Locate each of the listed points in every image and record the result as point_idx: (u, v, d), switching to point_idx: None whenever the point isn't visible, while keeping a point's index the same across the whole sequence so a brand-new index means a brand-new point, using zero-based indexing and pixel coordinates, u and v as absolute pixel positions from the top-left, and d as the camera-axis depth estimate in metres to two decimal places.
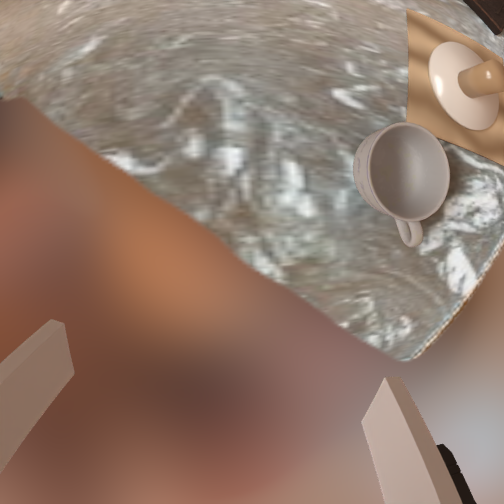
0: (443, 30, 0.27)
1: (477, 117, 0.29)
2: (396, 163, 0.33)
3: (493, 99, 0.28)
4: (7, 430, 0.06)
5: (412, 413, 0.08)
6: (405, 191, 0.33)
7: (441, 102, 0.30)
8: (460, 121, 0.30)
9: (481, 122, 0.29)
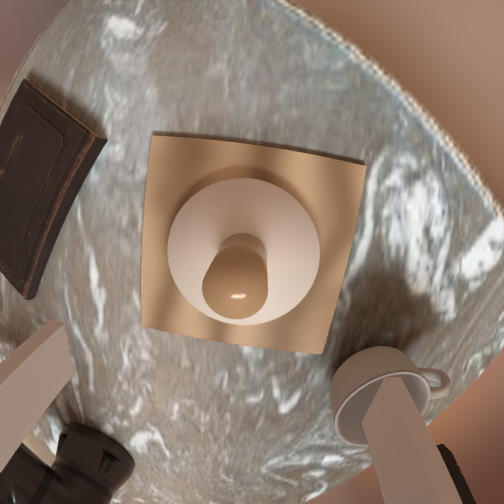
0: (153, 275, 0.29)
1: (297, 243, 0.26)
2: None
3: (253, 195, 0.25)
4: (7, 430, 0.06)
5: (412, 413, 0.08)
6: None
7: None
8: (310, 282, 0.27)
9: (305, 235, 0.26)
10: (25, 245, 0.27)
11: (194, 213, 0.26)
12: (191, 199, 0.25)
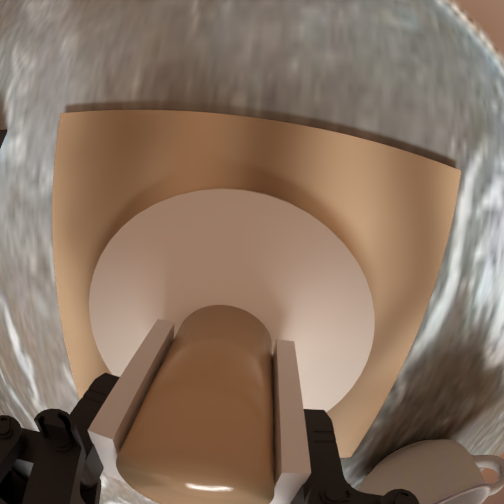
0: (83, 353, 0.15)
1: (333, 324, 0.13)
2: None
3: (245, 227, 0.11)
4: None
5: (289, 372, 0.10)
6: None
7: None
8: (349, 384, 0.13)
9: (350, 309, 0.12)
10: None
11: (126, 263, 0.12)
12: (118, 235, 0.12)
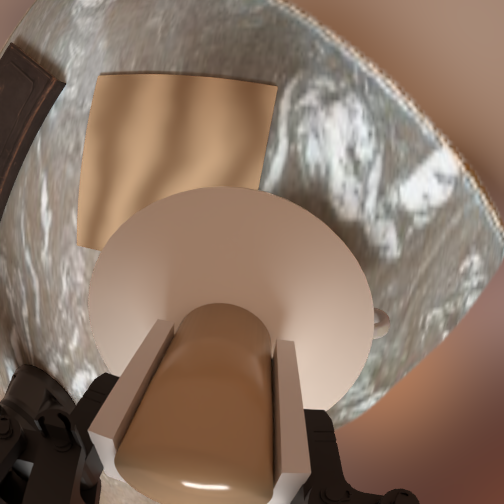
0: (88, 193, 0.29)
1: (333, 322, 0.13)
2: None
3: (244, 225, 0.11)
4: None
5: (289, 372, 0.10)
6: None
7: None
8: (349, 382, 0.13)
9: (350, 307, 0.12)
10: None
11: (125, 261, 0.12)
12: (118, 234, 0.12)
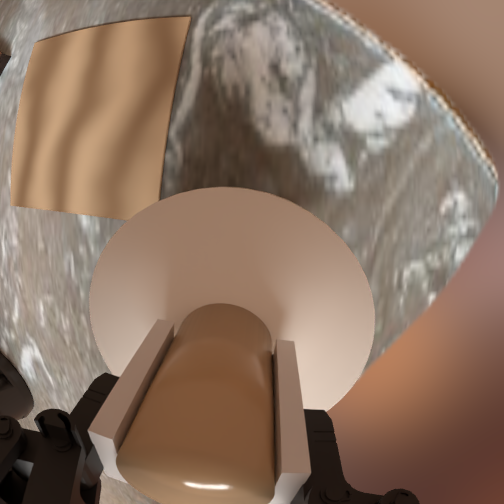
0: (19, 151, 0.24)
1: (334, 322, 0.13)
2: None
3: (245, 225, 0.12)
4: None
5: (289, 372, 0.10)
6: None
7: None
8: (350, 382, 0.13)
9: (350, 307, 0.12)
10: None
11: (126, 262, 0.12)
12: (119, 234, 0.12)
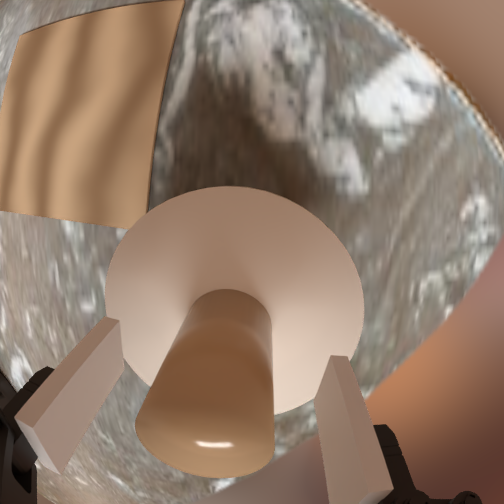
0: (1, 151, 0.21)
1: (326, 307, 0.14)
2: None
3: (247, 220, 0.13)
4: (69, 430, 0.07)
5: (352, 390, 0.09)
6: None
7: None
8: None
9: (341, 293, 0.14)
10: None
11: (141, 252, 0.14)
12: (135, 227, 0.14)
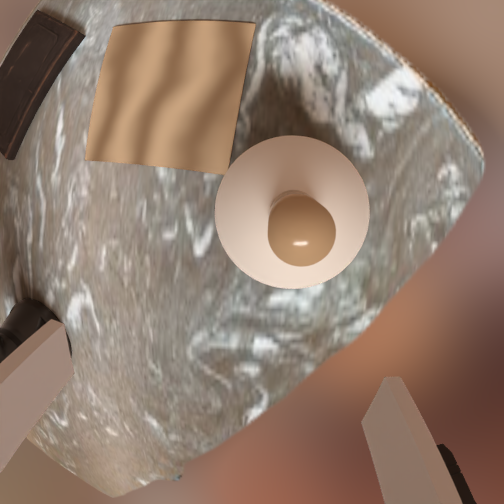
0: (99, 114, 0.32)
1: (348, 202, 0.25)
2: None
3: (306, 152, 0.24)
4: (7, 430, 0.06)
5: (412, 413, 0.08)
6: None
7: None
8: (359, 243, 0.26)
9: (356, 194, 0.25)
10: (16, 113, 0.31)
11: (245, 169, 0.25)
12: (243, 155, 0.25)
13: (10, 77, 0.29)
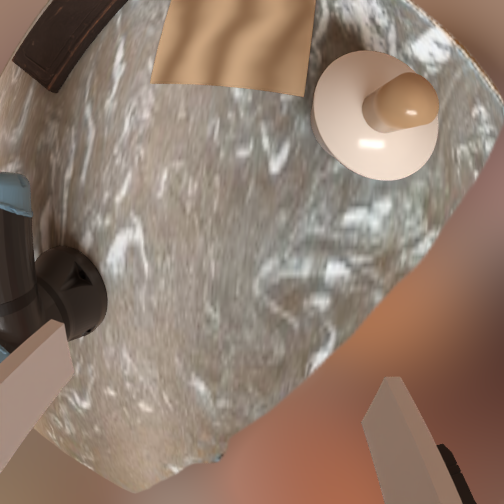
0: (168, 41, 0.31)
1: None
2: None
3: (386, 65, 0.23)
4: (7, 430, 0.06)
5: (412, 413, 0.08)
6: None
7: (416, 169, 0.27)
8: (433, 142, 0.25)
9: None
10: (66, 45, 0.29)
11: (340, 71, 0.24)
12: (337, 60, 0.24)
13: (59, 16, 0.27)
